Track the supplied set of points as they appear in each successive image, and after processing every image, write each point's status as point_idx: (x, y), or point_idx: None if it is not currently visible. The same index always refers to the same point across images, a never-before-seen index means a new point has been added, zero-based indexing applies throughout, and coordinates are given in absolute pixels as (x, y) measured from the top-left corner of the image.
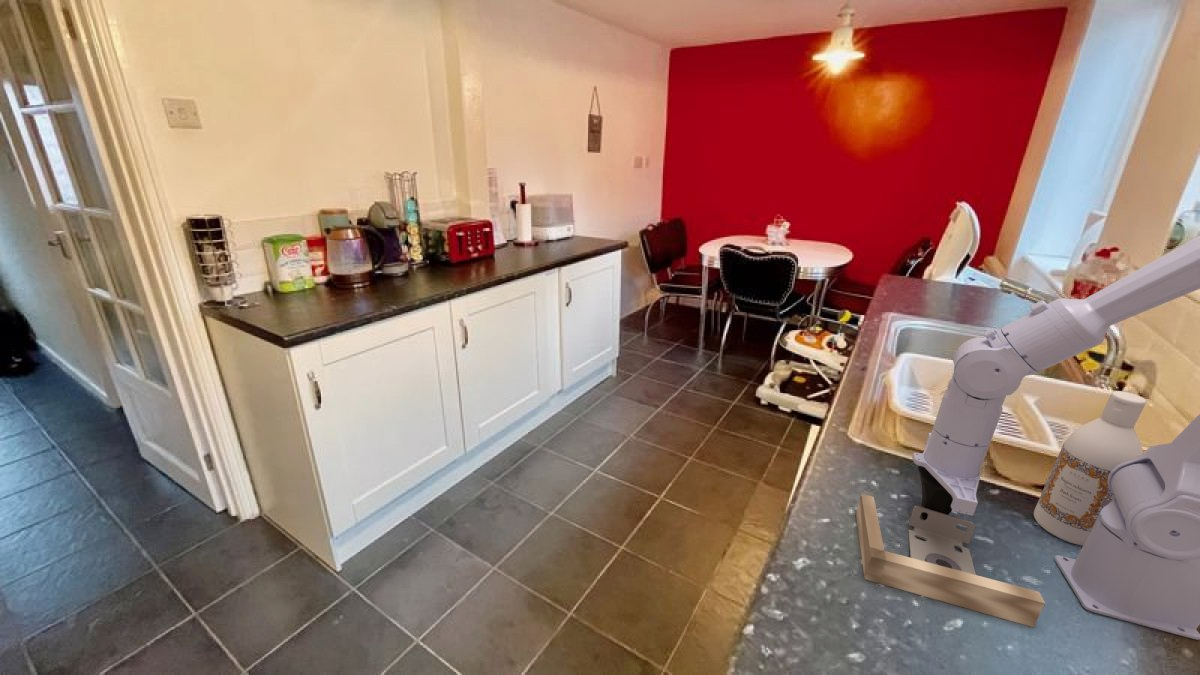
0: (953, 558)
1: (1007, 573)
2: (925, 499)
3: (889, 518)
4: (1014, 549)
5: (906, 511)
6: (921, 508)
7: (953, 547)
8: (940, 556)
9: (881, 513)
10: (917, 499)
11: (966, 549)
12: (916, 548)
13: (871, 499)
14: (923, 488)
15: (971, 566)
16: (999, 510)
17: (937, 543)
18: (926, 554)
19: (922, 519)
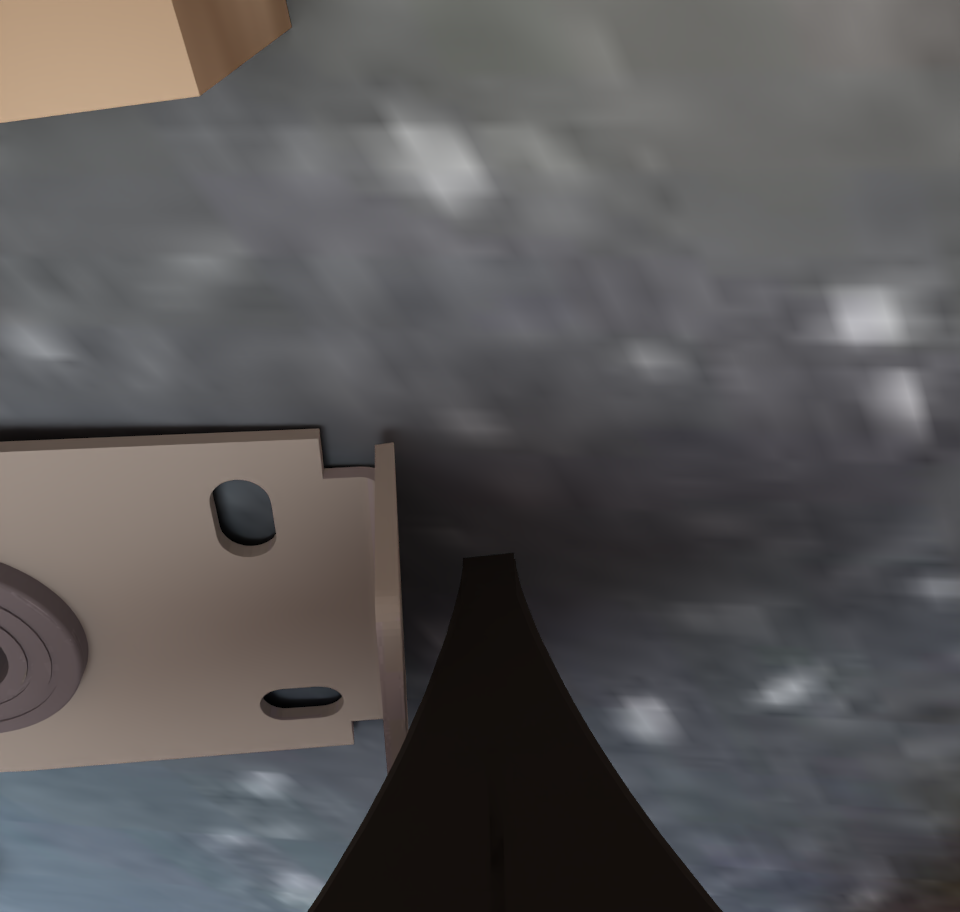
0: (147, 683)
1: (279, 837)
2: (381, 793)
3: (429, 273)
4: None
5: (636, 419)
6: (380, 661)
7: (294, 684)
8: (34, 644)
9: (476, 191)
10: (869, 502)
11: (333, 734)
12: (39, 494)
13: (57, 51)
14: (477, 878)
15: (140, 754)
16: (876, 854)
17: (267, 610)
18: (21, 554)
19: (465, 561)
